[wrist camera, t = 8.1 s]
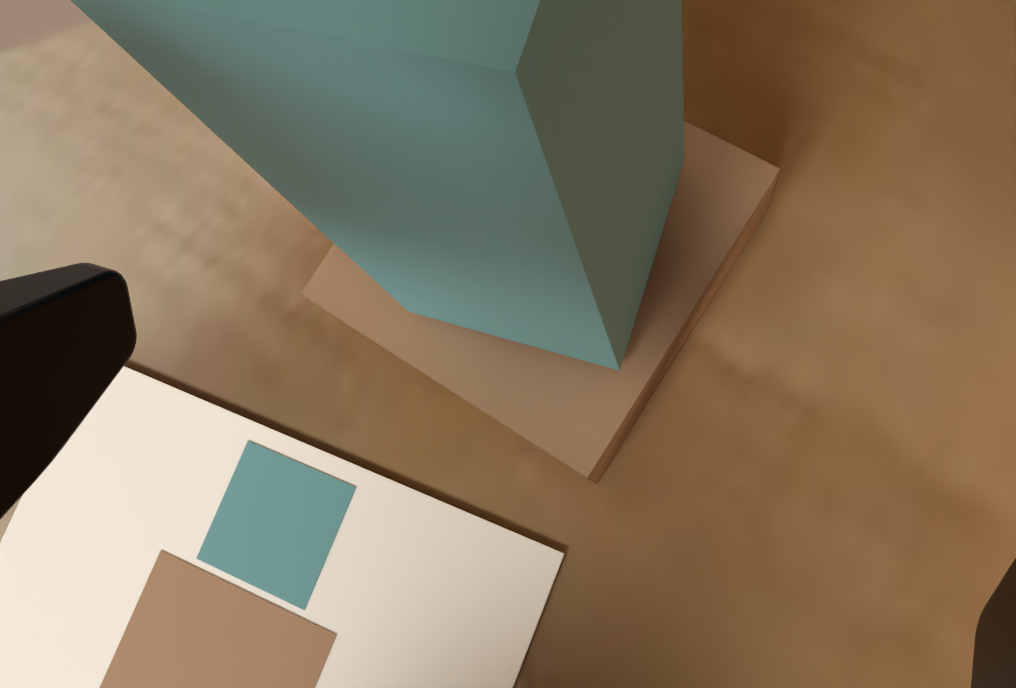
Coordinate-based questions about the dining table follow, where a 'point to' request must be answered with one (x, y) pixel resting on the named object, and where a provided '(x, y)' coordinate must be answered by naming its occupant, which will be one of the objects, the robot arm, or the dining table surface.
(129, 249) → the dining table surface
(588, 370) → the walnut base brick
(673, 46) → the teal brick
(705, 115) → the dining table surface
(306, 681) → the page
